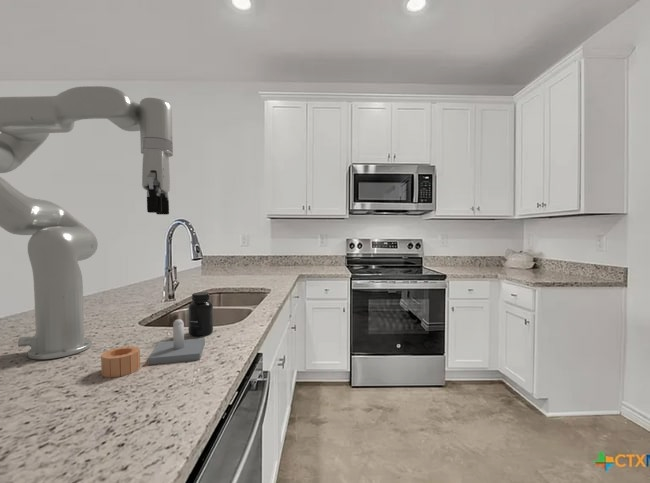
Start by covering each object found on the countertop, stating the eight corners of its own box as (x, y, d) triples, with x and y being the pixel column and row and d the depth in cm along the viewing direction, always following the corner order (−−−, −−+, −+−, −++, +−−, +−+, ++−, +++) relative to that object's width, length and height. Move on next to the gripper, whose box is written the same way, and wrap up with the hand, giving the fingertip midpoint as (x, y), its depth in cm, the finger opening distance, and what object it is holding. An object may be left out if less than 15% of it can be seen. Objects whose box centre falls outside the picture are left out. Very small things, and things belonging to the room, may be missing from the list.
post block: (148, 364, 73) (147, 327, 73) (160, 347, 84) (159, 315, 84) (199, 359, 76) (199, 323, 76) (204, 343, 87) (204, 312, 87)
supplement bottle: (187, 338, 91) (186, 296, 91) (190, 331, 98) (189, 291, 97) (212, 336, 93) (211, 294, 93) (214, 329, 100) (213, 290, 99)
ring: (96, 379, 66) (95, 359, 66) (109, 365, 73) (109, 347, 73) (134, 375, 68) (133, 356, 68) (143, 361, 75) (143, 344, 75)
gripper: (149, 155, 92) (151, 215, 93) (131, 138, 76) (133, 211, 76) (177, 156, 94) (179, 215, 95) (166, 140, 78) (168, 211, 78)
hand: (158, 213), depth 86 cm, fingers open, 9 cm apart
